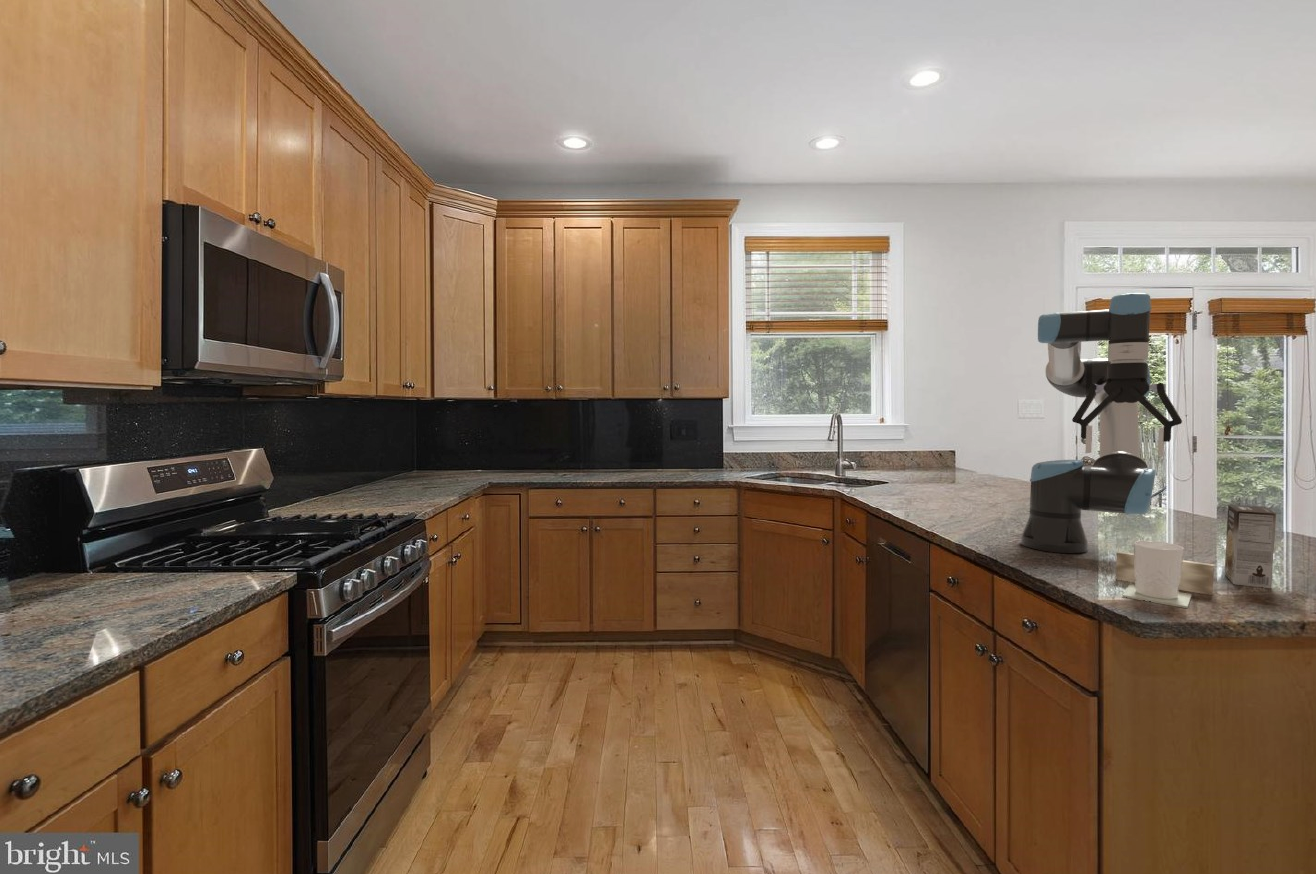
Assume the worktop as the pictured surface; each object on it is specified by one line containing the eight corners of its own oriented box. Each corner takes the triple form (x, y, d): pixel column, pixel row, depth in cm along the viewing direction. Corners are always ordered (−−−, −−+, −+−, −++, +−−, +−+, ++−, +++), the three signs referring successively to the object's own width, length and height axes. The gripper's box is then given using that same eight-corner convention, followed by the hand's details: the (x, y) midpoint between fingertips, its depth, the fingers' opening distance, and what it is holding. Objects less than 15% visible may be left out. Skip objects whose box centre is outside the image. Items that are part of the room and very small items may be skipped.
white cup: (1162, 602, 122) (1164, 551, 121) (1122, 590, 129) (1124, 542, 129) (1191, 598, 124) (1194, 548, 123) (1150, 586, 132) (1152, 539, 131)
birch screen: (1115, 579, 138) (1116, 552, 138) (1116, 578, 139) (1117, 551, 139) (1212, 595, 127) (1213, 565, 127) (1212, 593, 128) (1214, 564, 128)
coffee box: (1222, 574, 142) (1226, 504, 141) (1261, 578, 139) (1265, 506, 138) (1232, 584, 134) (1236, 510, 133) (1273, 589, 131) (1278, 513, 130)
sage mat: (1122, 596, 126) (1122, 595, 126) (1129, 586, 133) (1129, 584, 133) (1187, 608, 119) (1187, 606, 119) (1191, 596, 127) (1191, 594, 127)
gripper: (1060, 363, 150) (1057, 452, 152) (1197, 359, 133) (1192, 459, 134) (1067, 365, 156) (1064, 450, 157) (1200, 360, 139) (1195, 456, 140)
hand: (1123, 454), depth 146 cm, fingers open, 13 cm apart
